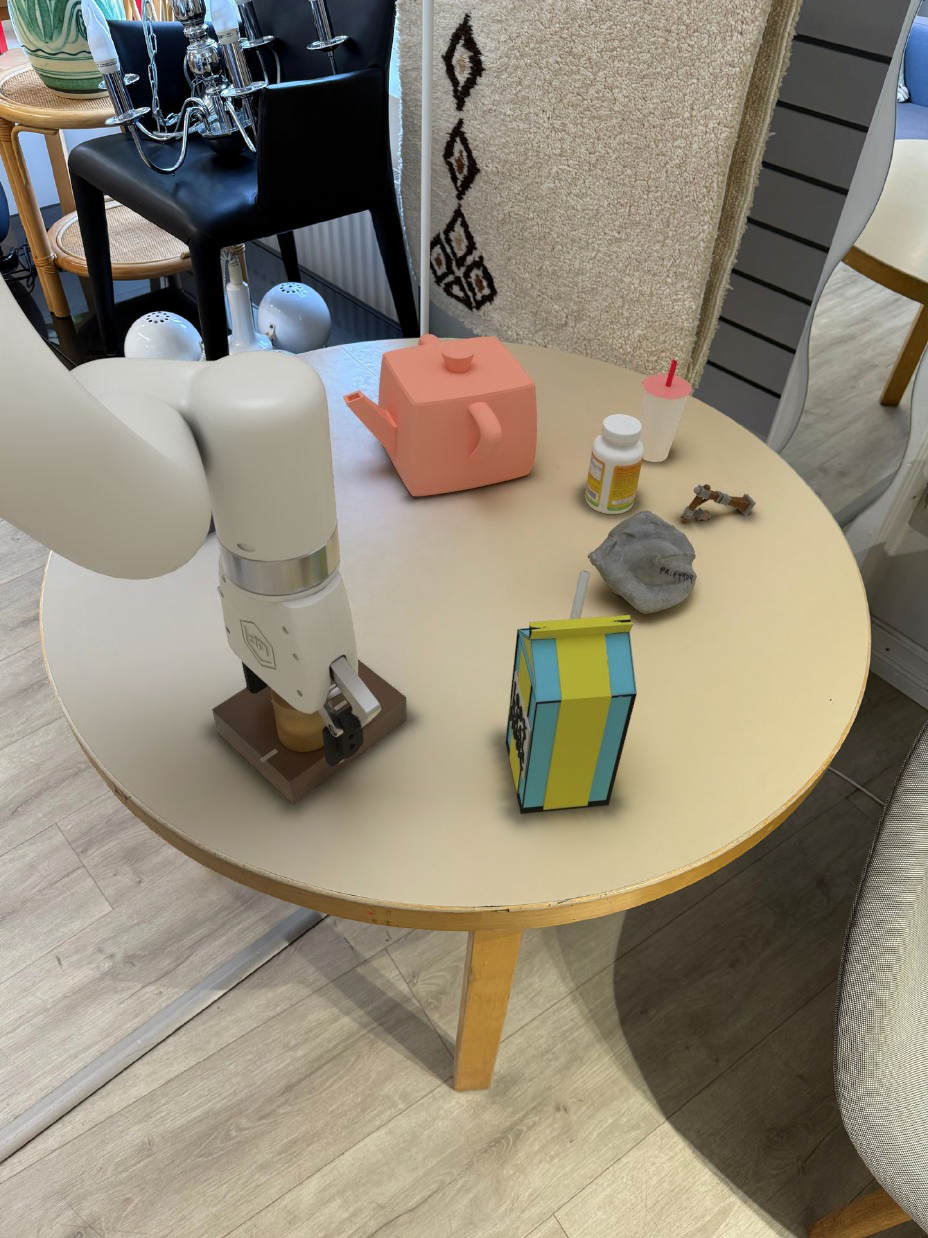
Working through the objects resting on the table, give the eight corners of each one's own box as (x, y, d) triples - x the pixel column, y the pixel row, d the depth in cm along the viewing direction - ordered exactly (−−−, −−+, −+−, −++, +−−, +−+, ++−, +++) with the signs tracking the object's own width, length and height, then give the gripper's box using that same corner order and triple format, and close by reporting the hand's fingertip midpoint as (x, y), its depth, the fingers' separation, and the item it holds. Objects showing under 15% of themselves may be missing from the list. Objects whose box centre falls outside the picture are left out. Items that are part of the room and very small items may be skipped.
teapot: (481, 402, 113) (486, 294, 103) (554, 503, 98) (569, 389, 89) (325, 428, 107) (315, 317, 98) (378, 540, 93) (373, 422, 83)
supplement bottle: (639, 494, 100) (655, 417, 93) (625, 521, 96) (640, 443, 90) (593, 481, 102) (605, 404, 95) (577, 507, 98) (589, 429, 91)
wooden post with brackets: (671, 512, 96) (694, 477, 94) (724, 524, 100) (748, 491, 98) (679, 522, 95) (703, 487, 93) (733, 534, 99) (757, 501, 97)
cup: (684, 453, 106) (706, 360, 98) (659, 473, 103) (680, 378, 95) (646, 436, 108) (664, 343, 100) (620, 454, 106) (637, 360, 97)
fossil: (619, 640, 83) (633, 575, 78) (563, 583, 89) (572, 518, 83) (710, 601, 88) (730, 537, 82) (651, 549, 93) (666, 485, 88)
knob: (346, 731, 71) (341, 686, 67) (300, 762, 69) (293, 717, 65) (311, 700, 73) (305, 654, 70) (266, 729, 71) (258, 683, 67)
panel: (301, 818, 69) (297, 794, 67) (214, 734, 74) (207, 709, 72) (418, 729, 75) (417, 704, 73) (330, 658, 81) (327, 633, 79)
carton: (588, 727, 76) (622, 564, 63) (612, 805, 70) (653, 643, 58) (501, 735, 75) (518, 570, 63) (518, 814, 70) (539, 652, 57)
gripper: (155, 510, 60) (199, 682, 72) (319, 645, 52) (338, 814, 64) (248, 466, 64) (275, 636, 76) (415, 585, 56) (416, 755, 68)
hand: (304, 717), depth 70 cm, fingers open, 9 cm apart
